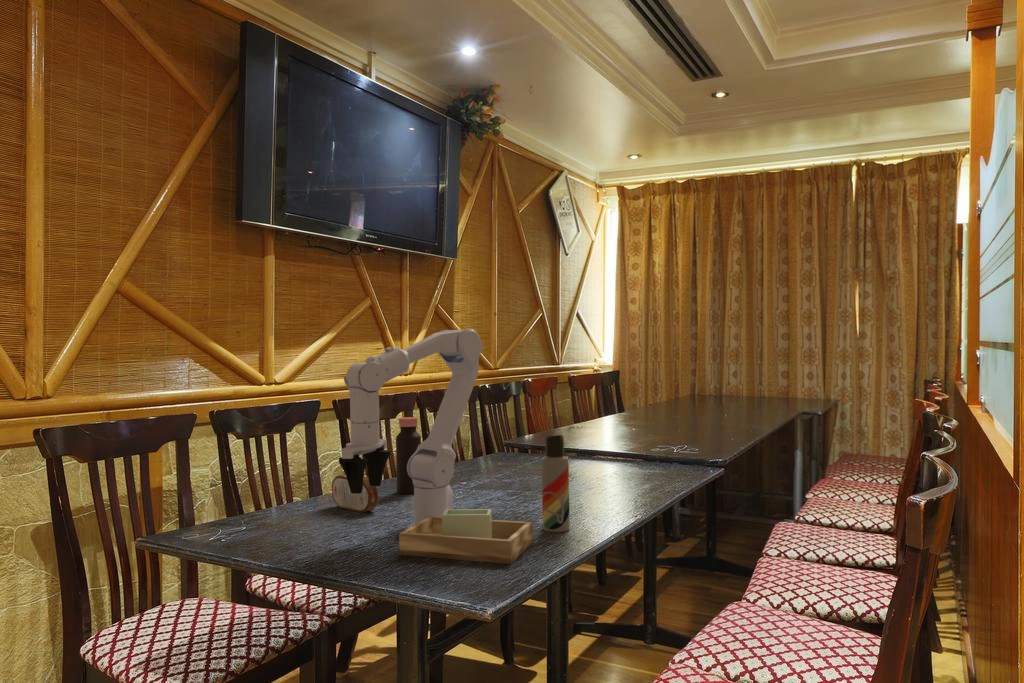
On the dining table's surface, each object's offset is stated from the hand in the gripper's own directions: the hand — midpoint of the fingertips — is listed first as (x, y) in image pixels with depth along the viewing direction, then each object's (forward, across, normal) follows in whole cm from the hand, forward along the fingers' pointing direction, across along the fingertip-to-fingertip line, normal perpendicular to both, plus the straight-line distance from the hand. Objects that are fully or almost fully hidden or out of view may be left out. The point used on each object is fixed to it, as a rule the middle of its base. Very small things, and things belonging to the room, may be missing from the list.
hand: (365, 489), depth 140 cm
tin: (+11, -24, -17) cm, 31 cm away
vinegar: (+11, -46, -13) cm, 49 cm away
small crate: (+9, 0, +22) cm, 24 cm away
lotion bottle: (+11, -18, +35) cm, 41 cm away
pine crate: (+10, 0, +22) cm, 24 cm away
